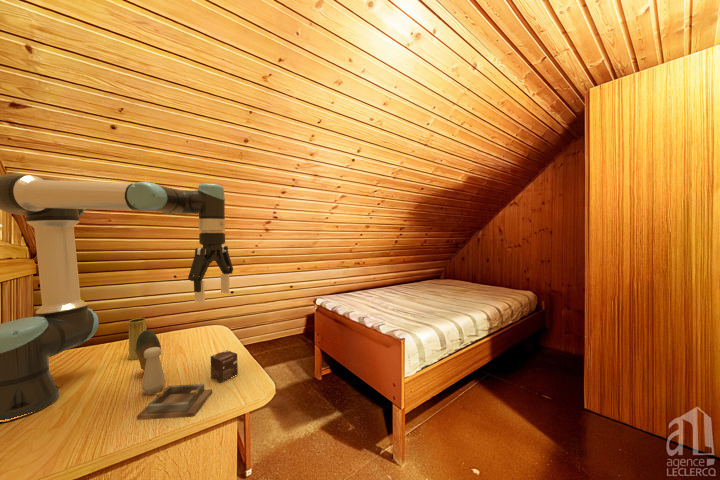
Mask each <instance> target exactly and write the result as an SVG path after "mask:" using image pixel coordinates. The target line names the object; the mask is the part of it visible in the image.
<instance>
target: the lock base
mask: <svg viewBox="0 0 720 480" xmlns="http://www.w3.org/2000/svg"><path fill="white" fill-rule="evenodd" d="M212 394H213V389H212V388H211V389H205V383H199V384H198V383H196V384H177V385H176V384H175V385H168V386H166V388H164V389H162V390H161V391H160V392H158V393H155V398H154V399H153V400H152V401H150V402H149V404H148V405H146V406H145V408H143V410H142V411H140V412H139V413H138V414H137V415H136V419H137V420H151V419H168V418H188V417H195V416H196V415H197V413H198V412H199V410H200V409H201V408H202V406H204V404H205V403H206V402H207V400H208V399H209V397H210V396H211V395H212Z"/></svg>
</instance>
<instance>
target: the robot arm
mask: <svg viewBox="0 0 720 480" xmlns="http://www.w3.org/2000/svg"><path fill="white" fill-rule="evenodd" d="M225 200H226V197H225V189H224V187H223V186H222V185H220V184H218V183H217V184H216V183H200V184H198V185H197V189H195V190H183V189H182V190H181V189H177V188H172V187H168V186H163V185H160V184H157V183H154V182H148V181H139V182H112V181H111V182H110V181H109V182H108V181H106V182H105V181H104V182H103V181H85V180H84V181H82V180H80V181H79V180H60V179H54V178H53V179H52V178H45V177H41V176H36V175H28V174H23V173H5V174H0V210H1V211H3V212H5V213H8V214H12V215H18V216H25V223H26V224H28V225H29V226H31V227H32V228H33V229H34V239H35V247H36V257H37V267H38V277H39V286H40V287H39V289H40V295H41V296H40V297H41V306H40V307H39V308H38V309H37V310H36V311H35V316H29V317H22V318H21V317H20V318H18V319H15V320H9V321H6V322H3V323H2V322H1V323H0V420H5V419H11V418H14V417H17V416H21V415H24V414H28V413H31V412H34V411H37V410H39V409H41V408H43V409H45V408H47V407H49V406H51V405H52V404H54V402H56V401H57V400H58V399H59V397H60V389H59V386H58V384H56V382H55V380H54V377H53V376H52V374H51V372H50V361H49V360H50V359H49V358H52V357H54V356H56V355H58V354H61V353H63V352H66V351H67V350H70V349H72V348H76V347H78V346H80V345H82V344H83V343H85V342H86V341H89V340H90V339H91V338H92V337H93V336H94V335H95V334H96V332H97V331H98V328H99V324H100V322H99V316H98V314H97V313H95V312H94V310H93V309H92V308H89V307H88V306H89V305H88V302H86V301H84V300H82V299H81V290H80V278H79V277H80V276H79V268H78V258H77V256H78V255H77V250H76V249H77V248H76V239H75V226H77V225H78V224H79V223H80V222H81V221H80V216H81V215H83V214H84V213H85V211H86V210H104V211H105V210H107V211H134V212H135V211H137V212H139V211H140V212H158V213H159V212H160V213H162V214H166V215H167V214H168V215H181V214H182V215H187V214H190V215H191V214H192V215H193V214H195V215H198V231H199V234H198V242H199V243H198V244H200V245H201V246H202V247H196V248H195V249H194V257H193V261H192V264H191V268H190V271H189V274H188V277H187V279H188V280H189V281H190V282H193V292H194V303H205V301H206V299H205V280H203V279H204V277H205V275H206V272H207V270H208V269H209V266H210V264H212V263H213V262H215V263H216V264H217V266H218V268H219V269H220V271H221V274H220V293H222V294H225V293H226V294H227V293H228V294H229V293H230V274H231V275H232V274H233V272H234V266H233V264H232V259H231V257H230V253H229V248H228V245H224V244H226V233H224V232H225V230H226V228H225V227H226V222H225V220H226V218H225V217H226V216H225V215H226V213H225V211H226V209H225V208H226V207H225V205H226V202H225ZM200 232H201V233H200ZM188 280H187V281H188ZM48 405H49V406H48ZM46 406H47V407H46ZM44 407H45V408H44ZM41 410H42V409H41ZM39 411H40V410H39ZM37 412H38V411H37ZM34 413H35V412H34Z"/></svg>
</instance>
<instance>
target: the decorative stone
mask: <svg viewBox="0 0 720 480" xmlns="http://www.w3.org/2000/svg"><path fill="white" fill-rule="evenodd" d="M152 347H159V348H161V349H162V345H161V342H160V339H159V338H158V336H157V334H156V333H155V332H154V331H153V330H151V329H146V330H145V331H143V332H142V333H141V334H140V335H139V336H138V339H137V343H136V350H135V352H136V354H137V356H138V359H137V360H138V362H139V365H140V369H141V370H143V372H144V371H145V365H146V360H147V359H146V358H144V351H145V350H147V349H149V348H152Z"/></svg>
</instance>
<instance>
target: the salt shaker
mask: <svg viewBox="0 0 720 480" xmlns="http://www.w3.org/2000/svg"><path fill="white" fill-rule="evenodd" d="M161 355H162V347H161V348H159V347H152V348H149V349H147V350H145V351H144V358H146V359H147V360H146V365H145V371H144V370H143V377H142V381H141V389H142V391H143V393H144V395H147V396H148V395H149V396H150V395H151V396H152V395H156V394H157V393H158V392H162V391H163V388H164V386H165V383H166V379H165V375H164V370H163V367H162V366H163V365H162V362H161V357H160V356H161Z"/></svg>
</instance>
